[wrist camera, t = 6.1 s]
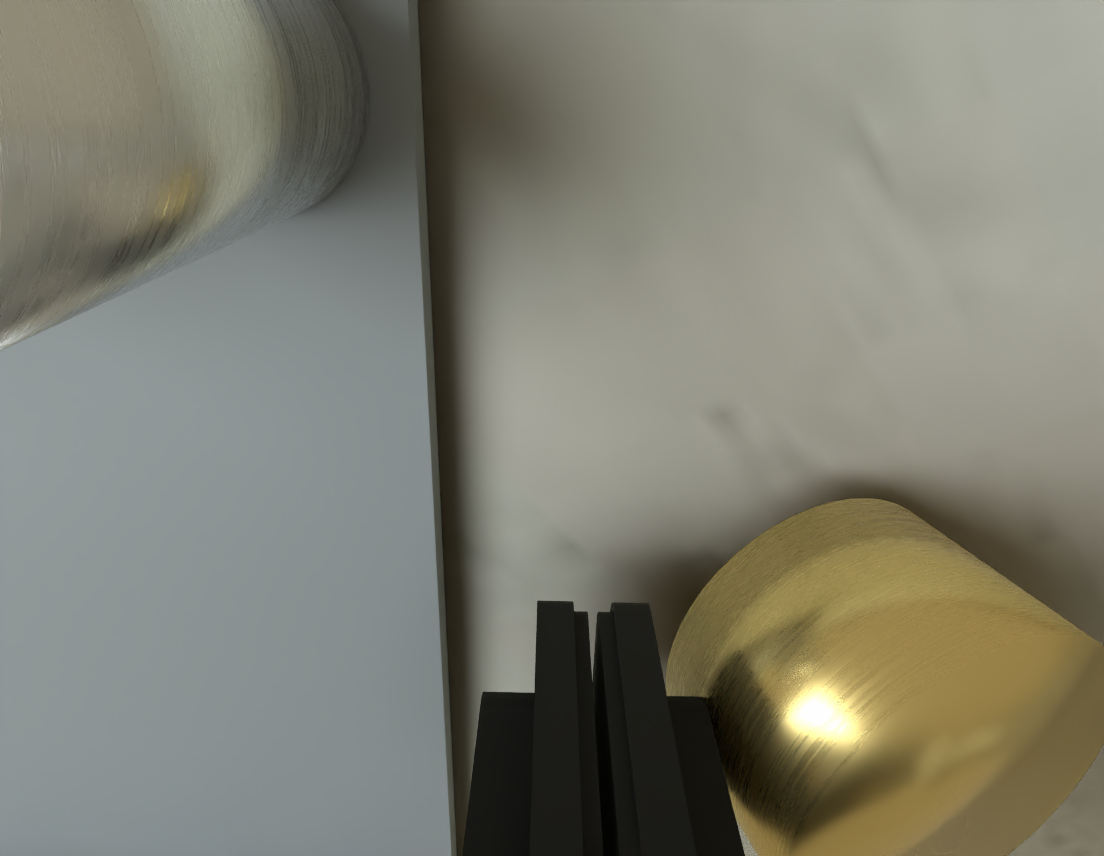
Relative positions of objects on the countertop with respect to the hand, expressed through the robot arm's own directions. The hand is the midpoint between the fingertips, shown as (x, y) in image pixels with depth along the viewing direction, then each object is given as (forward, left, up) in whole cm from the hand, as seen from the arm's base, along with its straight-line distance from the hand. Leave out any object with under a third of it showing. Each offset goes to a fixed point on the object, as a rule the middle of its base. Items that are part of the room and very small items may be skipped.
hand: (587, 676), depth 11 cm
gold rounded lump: (-4, 0, -1) cm, 4 cm away
